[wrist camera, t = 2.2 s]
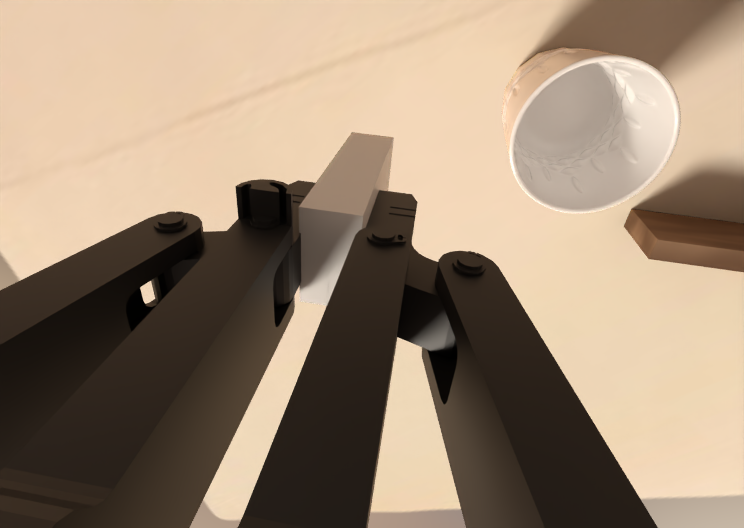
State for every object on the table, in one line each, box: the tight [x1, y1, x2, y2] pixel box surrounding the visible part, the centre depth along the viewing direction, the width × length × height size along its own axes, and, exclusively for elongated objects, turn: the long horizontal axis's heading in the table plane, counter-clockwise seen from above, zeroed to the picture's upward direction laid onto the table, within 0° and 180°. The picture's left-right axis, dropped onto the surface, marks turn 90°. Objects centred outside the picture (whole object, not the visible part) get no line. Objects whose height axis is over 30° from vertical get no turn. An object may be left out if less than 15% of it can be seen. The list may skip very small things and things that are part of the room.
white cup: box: [502, 47, 681, 213], centre depth 26 cm, size 8×8×10 cm
